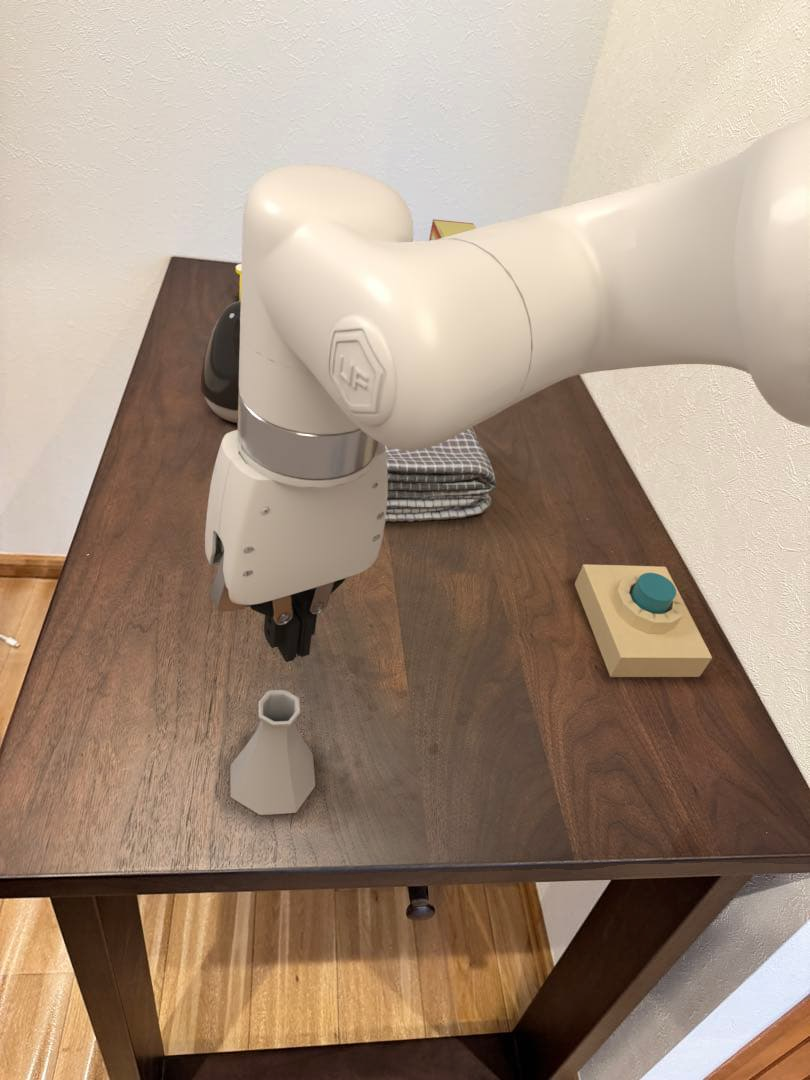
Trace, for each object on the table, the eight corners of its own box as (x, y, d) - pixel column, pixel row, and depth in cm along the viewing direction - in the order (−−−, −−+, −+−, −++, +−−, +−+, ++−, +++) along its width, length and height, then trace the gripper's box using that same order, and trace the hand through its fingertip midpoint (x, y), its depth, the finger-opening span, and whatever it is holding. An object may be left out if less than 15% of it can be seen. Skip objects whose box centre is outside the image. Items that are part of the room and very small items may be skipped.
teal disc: (674, 614, 81) (682, 601, 79) (638, 614, 80) (646, 600, 79) (660, 586, 84) (668, 572, 82) (625, 585, 83) (632, 571, 81)
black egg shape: (212, 440, 97) (212, 328, 87) (192, 394, 104) (190, 285, 93) (291, 430, 101) (299, 323, 91) (267, 387, 108) (273, 282, 98)
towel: (491, 521, 94) (507, 469, 89) (341, 525, 89) (349, 471, 84) (457, 445, 105) (469, 395, 100) (321, 445, 100) (327, 393, 95)
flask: (215, 806, 62) (215, 735, 56) (244, 731, 68) (247, 658, 61) (303, 827, 62) (314, 759, 56) (325, 750, 68) (337, 680, 61)
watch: (234, 293, 126) (235, 257, 122) (252, 295, 127) (253, 259, 123) (234, 311, 122) (235, 274, 118) (253, 312, 122) (254, 276, 118)
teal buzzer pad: (699, 677, 81) (720, 646, 78) (610, 677, 79) (627, 645, 76) (655, 586, 90) (672, 555, 87) (574, 584, 88) (588, 552, 85)
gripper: (395, 366, 47) (357, 578, 60) (146, 407, 40) (161, 638, 52) (463, 437, 43) (408, 649, 55) (197, 496, 36) (202, 725, 48)
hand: (288, 643), depth 54 cm, fingers closed
